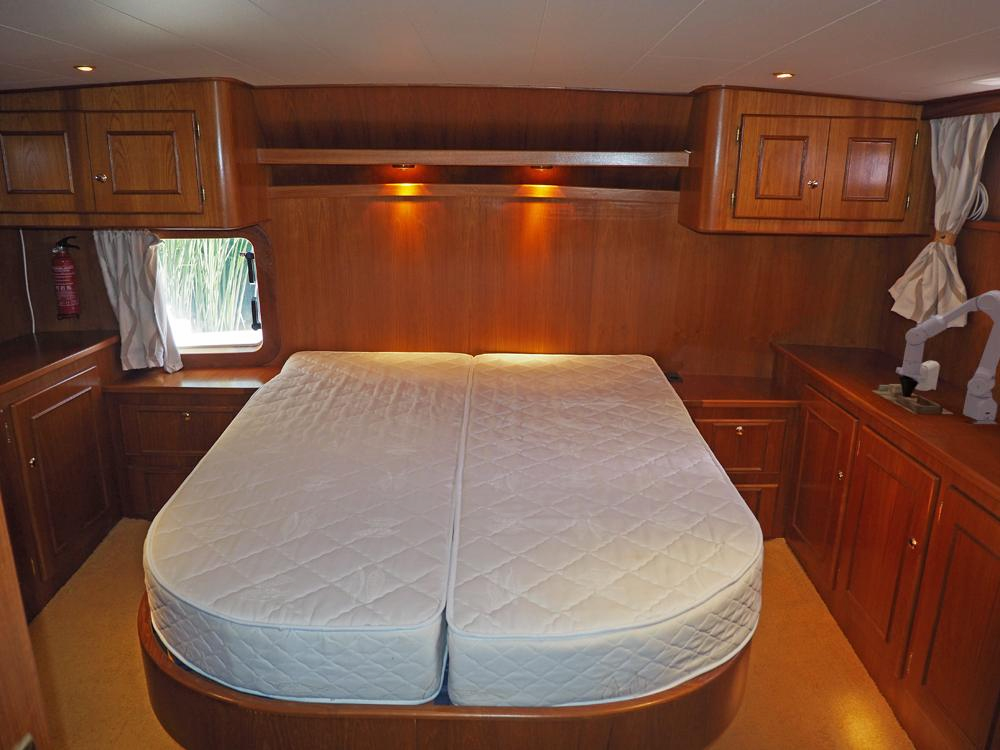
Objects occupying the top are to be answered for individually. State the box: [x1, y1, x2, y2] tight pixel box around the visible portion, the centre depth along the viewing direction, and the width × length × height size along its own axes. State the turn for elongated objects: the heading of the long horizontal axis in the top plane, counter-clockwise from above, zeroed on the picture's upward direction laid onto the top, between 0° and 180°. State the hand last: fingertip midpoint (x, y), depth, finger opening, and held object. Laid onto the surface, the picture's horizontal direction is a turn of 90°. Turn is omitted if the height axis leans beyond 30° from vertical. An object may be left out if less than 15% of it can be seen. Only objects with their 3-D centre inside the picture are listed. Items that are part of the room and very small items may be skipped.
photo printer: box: [914, 360, 940, 392], centre depth 275 cm, size 10×4×12 cm, turn 125°
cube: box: [888, 383, 903, 397], centre depth 265 cm, size 4×4×4 cm
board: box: [870, 384, 954, 415], centre depth 259 cm, size 28×14×4 cm, turn 2°
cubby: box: [897, 395, 944, 415], centre depth 252 cm, size 13×8×2 cm, turn 2°
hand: (906, 396), depth 259 cm, fingers closed
